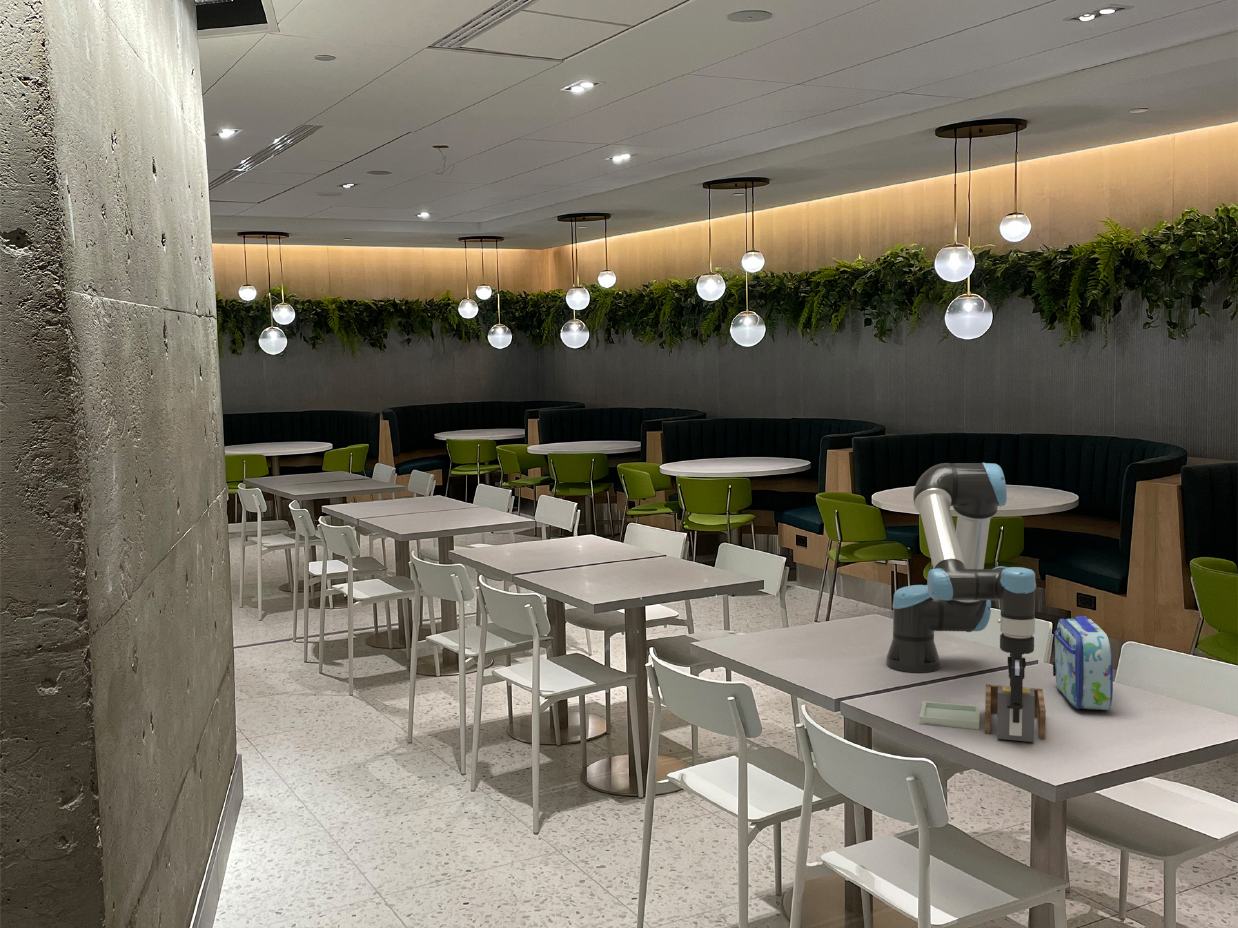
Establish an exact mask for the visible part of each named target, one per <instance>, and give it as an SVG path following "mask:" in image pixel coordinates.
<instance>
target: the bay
mask: <svg viewBox="0 0 1238 928" xmlns="http://www.w3.org/2000/svg"><path fill="white" fill-rule="evenodd" d="M998 686H1001V685H997V684H985V701H984V702H985V704H984V706H985V709H984V711H985V712H984V715H985V716H984V720H985V721H984V734H985V735H987V734H988V735H991V714H994V715H995V714H996V715H997V706H998ZM1033 688H1034V687H1033ZM1034 694H1035V708H1034V718H1036V719H1037V728H1038V729H1037V730H1038V738H1039V739H1040V740H1046V714H1047V713H1046V712H1047V711H1046V703H1045V698H1044V697H1045V696H1044V691H1043V688H1037V687H1036V688H1034Z"/></svg>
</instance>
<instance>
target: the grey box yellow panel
mask: <svg viewBox="0 0 1238 928" xmlns="http://www.w3.org/2000/svg"><path fill="white" fill-rule="evenodd" d="M1010 704H1011V686H1010V685H1000V686H998V706H997V714H996V715H997V717H996V719H997V720H996V738H997V740H1008V741H1017V742H1026V743H1027V742H1029V743H1035V741H1034V740H1035V717H1034V708H1035V694H1034V687H1026V686H1025V687H1024V686H1023V689H1022V705H1023V708H1022V736H1014V735H1009V723H1010V708H1007V706H1010Z"/></svg>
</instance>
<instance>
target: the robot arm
mask: <svg viewBox="0 0 1238 928" xmlns="http://www.w3.org/2000/svg"><path fill="white" fill-rule="evenodd" d="M1007 498H1008V497H1007V484H1006V479H1005V474H1004V471H1003V469H1002V467H1001V466H1000V465H998V464H997V463H990V462H989V463H986V462H981V463H980V462H977V463H976V462H975V463H974V462H973V463H966V462H965V463H964V462H963V463H961V462H959V463H958V462H957V463H953V462H952V463H949V462H946V463H945V462H944V463H939V464H935V465H933V466H931V467H930V468H928V469H927V470H926V471H924V473H922V474H921V476H920V477H918V480H917V482H916V484H915V486H914V489H913V498H912V499H913V504H914V508H915V510H916V512H917V513H918V514H920V516H921V517H920V518H921V521H922V525H923V530H924V535H925V539H926V543H927V547H928V551H929V555H930V556H929V557H930V559H931V563H932V569H929V571H928V574H927V583H926V584H924V585H923V584H914V585H908V586H903V587H900V588H898V589H897V590H896V591H895V592H894V593H893V601H892V608H893V609H892V610H893V612H892V613H893V614H892V615H893V616H892V617H893V618H892V621H893V622H892V641H891V644H890V645H889V649H888V653H887V655H886V666H887V667H888V668H891V669H893V670H896V671H901V672H905V673H906V672H907V673H931V672H935V671H938V670H939V669H940V667H941V659H940V655H939V653H938V650H937V647H936V642H935V632H966V633H972V632H981V631H984V630H985V629H986V627H987V626H988V624H989V622H990V619H991V611H992V610H991V607H992V601H1000V618H999V619H997V623H998V624H1000V629H999V630H1000V632H1001V634H999V649H1000V650H1001V651H1003V652H1004V653H1006V654H1008V653H1009V656H1007V666H1008V678H1009V686H1011V704H1010V706H1007V708H1010V723H1009V735H1014V736H1022V708H1023V705H1022V689H1023V687H1024V686H1023V684H1024V683H1023V680H1024V679H1025V668H1026V666H1027V663H1026V662H1027V660H1026V657H1023V655H1029V654H1032V653H1034V651H1035V637H1034V634H1035V632H1036V631H1035V629H1036V626H1035V625H1036V617H1035V613H1036V611H1035V610H1036V589H1037V583H1036V573H1035V571H1034V570H1033V569H1030V568H1026V567H1019V566H1018V567H1016V566H1012V567H1010V566H1009V567H1007V566H1001V565H1000V566H996V567H993V568H992V569H991V568H985V559H986V553H987V544H988V539H989V538H988V537H989V530H990V523H991V519H992V518H993V517H995V516H996V515H997V513H998V507H1003V506H1005V505H1006V504H1007ZM951 507H952V508H953V510H954V512H955V513H956V514H957V519H956V527H955V524H954V520H953V517H952V516H953V515H952V512H951V509H950V508H951Z"/></svg>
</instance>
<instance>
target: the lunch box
mask: <svg viewBox="0 0 1238 928" xmlns="http://www.w3.org/2000/svg"><path fill="white" fill-rule="evenodd" d="M1056 628H1057V629H1056V630H1055V631H1054V659H1055V660H1054V661H1052V676H1053V677H1055V682H1056V688H1057V690H1058V691H1059V692H1060V693H1061V694H1062V695H1063V696H1064V698H1065V699H1067V701H1068V702H1069V704H1070V705H1071V706H1072V707H1073V708H1075V709H1076V710H1080V709H1083V710H1097V711H1099V710H1101V711H1102V710H1103V711H1109V710H1110V709H1111V706H1112V703H1113V696H1114V695H1113V694H1114V693H1113V692H1114V681H1113V680H1114V678H1113V677H1114V675H1113V673H1114V672H1113V670H1114V669H1113V666H1114V665H1113V655H1112V654H1113V653H1112V649H1111V644H1110V640H1109V637H1108V635H1107V633H1106V632H1105V631H1104V630H1103V629H1102V628H1101V627H1100V626H1099V625H1098V624H1097V623H1096V622H1094V621H1093V620H1092V619H1090V618H1088V617H1087V616H1085V615H1081V616H1080V615H1079V616H1075V618H1066V619H1065V618H1063V617H1062V618H1060V619H1058V623H1057V627H1056Z"/></svg>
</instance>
